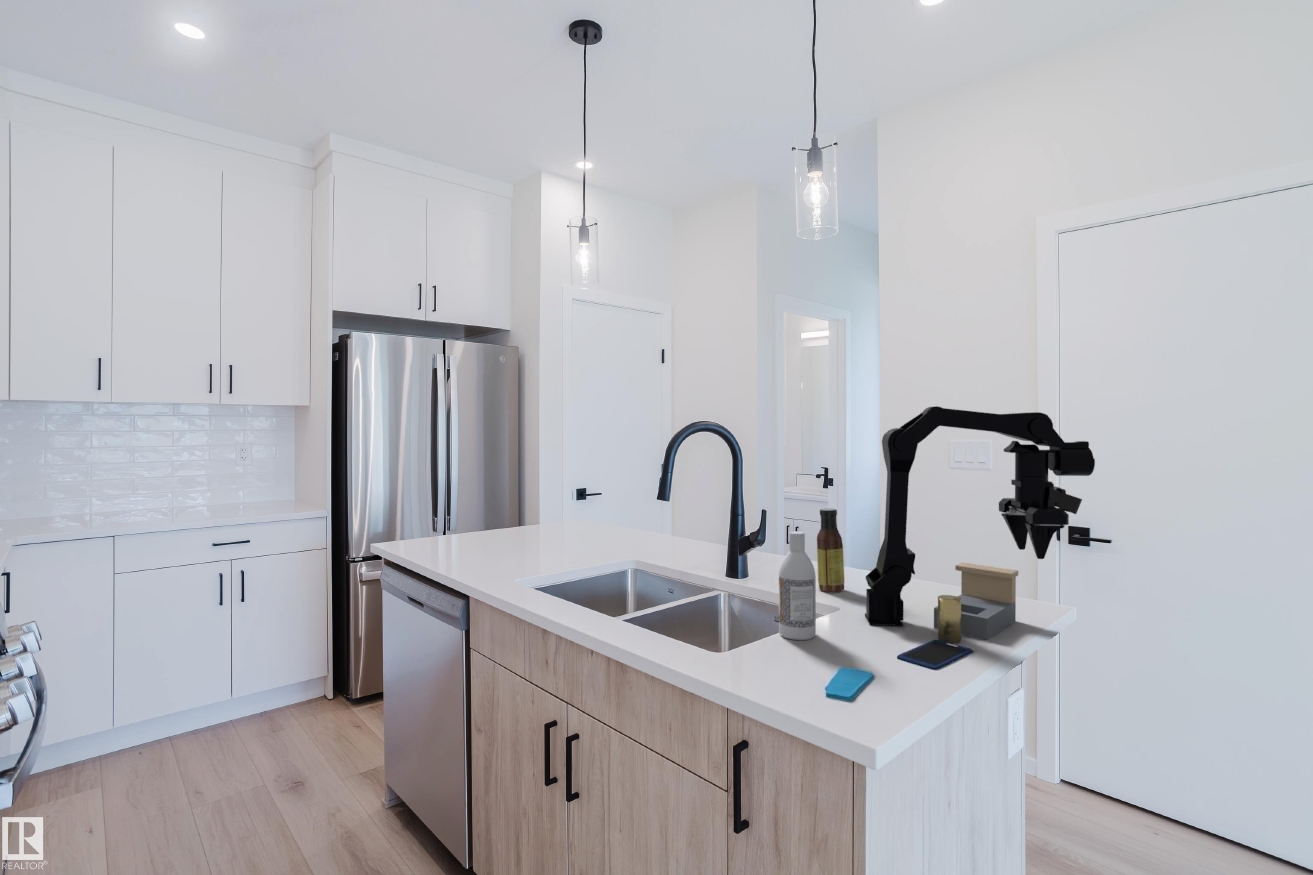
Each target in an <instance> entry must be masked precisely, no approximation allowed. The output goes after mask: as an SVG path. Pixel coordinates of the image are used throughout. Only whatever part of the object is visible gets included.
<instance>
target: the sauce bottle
mask: <svg viewBox="0 0 1313 875" xmlns="http://www.w3.org/2000/svg"><path fill="white" fill-rule="evenodd" d="M819 515H820V528H819V531H818V533H817V535H816V558H817V559H816V560H817V561H816V562H817V583H818V589H819V590H820V591H822V592H826V593H832V594H833V593H840V592H843V591H844V590H845V566H844V565H845V564H844V560H845V559H844V546H843V545H844V544H843V538H842V536H841V534H840V532H839V530H838V524H837V522H838V521H837V516H838V510H837V509H836V508H829V507H828V508H820V509H819Z"/></svg>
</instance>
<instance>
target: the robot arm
mask: <svg viewBox="0 0 1313 875" xmlns="http://www.w3.org/2000/svg"><path fill="white" fill-rule="evenodd" d="M938 427H947V428H954V429H965V430H974V431H983V432H992V433H997V434H999V435H1002V436H1006V437H1007V438H1008V437H1009V438H1012V439H1016V440H1012V441H1011V442H1010V443H1009V445H1008V446H1006V447H1005V448H1003V452H1005V453H1008V454H1009V453H1011V454H1015V455H1014V459H1015V460H1014V479H1011V480H1010V481H1011V482H1010V483H1011V485H1012V486H1014V497H1011V498H1010V497H1003V498H1002V499H1001V500H1000V501H999V502H998V512H1001V517H1002V518H1003V519H1004V521H1005V523H1006V525H1007V528H1008V530H1009V532H1010V533H1011V536H1012V538H1013V540H1014V542H1015V544H1016V546H1017V548H1018V550H1020V551H1021V550H1023V551H1024V550H1025V549H1026V547H1027V541H1028V537H1029V539H1030V542H1031V545H1032V548H1033V550H1034V554H1035V556H1036V558H1037V559H1038V560H1044V559H1045V557H1046V555H1047V551H1048V549H1049V547H1050V543H1051V540H1052V538H1053V536H1054V534H1055V533H1057V532H1058V531H1059V530H1062V529H1064V528H1065V526H1067V525H1068V526H1069V523H1070V522H1069V519H1070V518H1069V517H1070V516H1069V515H1070V514H1069V513H1072V514H1074V515H1077V514H1078V511H1079V508H1080V505H1081V503H1082V501H1083V499H1082V498H1080V497H1077V496H1074V495H1071V494H1067V492H1066V490H1067V489H1064V488H1061V487H1059V486H1055V484H1054V483H1053V481H1050V480H1049V471H1050V472H1052V473H1053V474H1054V475H1055V476H1057V477H1058V476H1061V477H1064V476H1065V477H1066V476H1067V477H1070V476H1071V477H1072V476H1073V477H1076V476H1077V477H1080V476H1081V477H1082V476H1083V477H1089V476H1091V475H1092V474H1093V472H1094V470H1095V466H1096V460H1095V458H1094V454H1093V452H1092V449H1091V448H1090V442H1089V441H1085V440H1081V441H1080V440H1078V441H1072V442H1071V441H1069V442H1067V441H1066V442H1065V441H1064V440H1063V438H1062V437H1061V436H1060V434H1058V432H1057V430H1055V428H1054V424H1053V421H1052V419H1051V417H1050V416H1049V415H1048V414H1046V413H1043V412H1040V411H1039V412H1038V411H1037V412H1033V411H1032V412H1017V413H1016V412H1015V413H1014V412H1012V413H993V412H982V411H974V410H973V411H972V410H966V409H965V410H964V409H955V408H953V409H952V408H945V407H941V406H938V405H937V406H928V407H926V408H925V409H924V410H922V411H921V412H920V413H919V414H917V415H916V416H914V417H912V419H910V420H909V421H907V422H906V423H904V424H903V425H901V426H900V427H899V428H897V427H895V428H891V429H889V430H887V431H886V432H885V433H884V434H883V436H882V439H881V447H882V452H883V460H884V464H885V468H886V471H887V473H886V476H887V477H886V490H885V491H886V494H885V495H886V497H885V515H884V516H885V517H884V518H885V519H884V535H883V536H884V537H883V540H882V544H881V546H880V548H879V552H878V556H877V561H876V564H875V565H876V566H875V567H874V568H873V569H872V570H871V571H870V572H869V573H868V574H866V575H865V580H866V584H867V586H868V587H869V588H866V589H865V593H866V598H865V600H866V602H865V603H866V604H865V605H866V606H865V607H866V609H865V610H866V612H865V613H864V617H865V619H866V621H867V623H868V624H869V625H871V626H874V625H875V626H895V627H896V626H898V627H901V626H902V627H903V624H904V623H903V621H904V600H903V599H902V598H901V595H902V594H901V593H902V591H903V589H904V587H905V586H906V585H908V584H909V583H910V582H911V580H912V574H913V575H916V571H915V568H914V567H915V566H914V565H915V561H916V553H915V552H914V551H913V550H911V549H910V548H909V547H908V546H907V542H906V541H907V522H908V521H907V519H908V501H909V500H908V499H909V498H908V496H909V479H910V478H909V476H910V473H911V469H912V466H913V464H914V461H915V459H916V455H917V454H916V453H917V449H918V445H919V444H920V443H921V442H922V441H924V440H925V439H926V438H927V437H928V436H929V435H930V434H932V433H933V432H934V431H935V430H936V429H938ZM1018 440H1020V441H1024V442H1031V443H1032V444H1031V443H1030V444H1028V443H1027V444H1023V443H1022V444H1021V443H1020V441H1018ZM1039 446H1041V447H1048V448H1049V449H1040V448H1039ZM1067 512H1068V513H1067Z"/></svg>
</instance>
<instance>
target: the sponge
mask: <svg viewBox="0 0 1313 875" xmlns="http://www.w3.org/2000/svg"><path fill="white" fill-rule="evenodd" d="M874 676H875V674H874V673H873V672H871V671H866V670H863V669H858V668H851V667H845V666H844V667H839V668H838V669H837V671H836V673H835V674H834V675H833V676H832V678H831V679H830V680H829V682H828V684H826V686H825V687H824V690H825V697H826V698H831V699H836V700H841V701H846V702H851V701H852V700H854V699H855V698H856V697H857V695H859V693H860V692H861V691H862V690H863V689H864V687H866V686H867V685H868V684H869V682H870V681H871V680H872V679H873V678H874Z"/></svg>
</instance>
